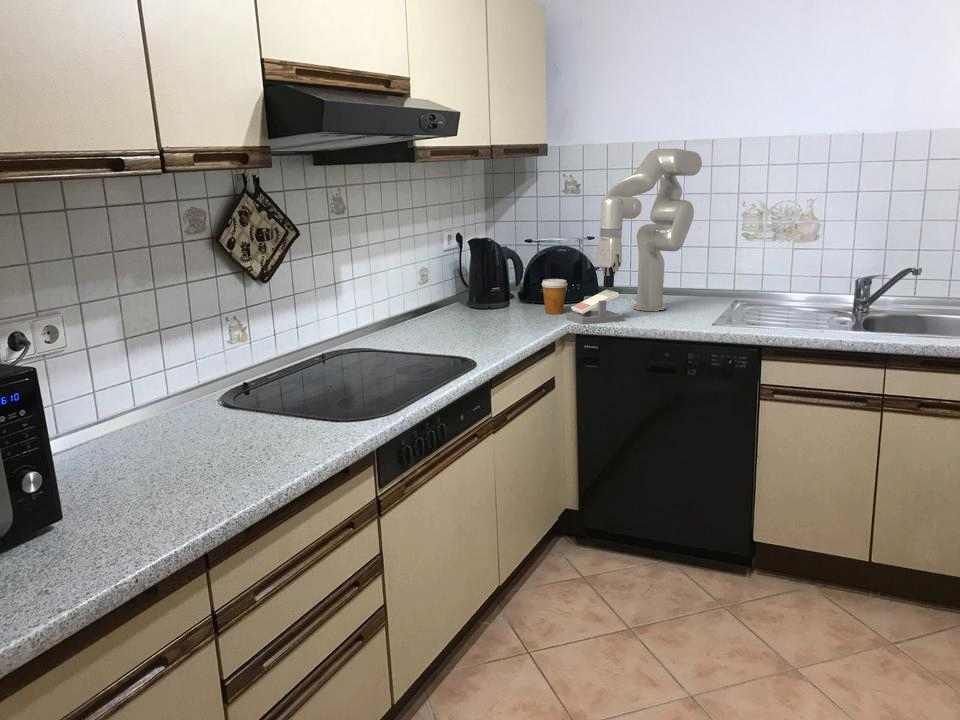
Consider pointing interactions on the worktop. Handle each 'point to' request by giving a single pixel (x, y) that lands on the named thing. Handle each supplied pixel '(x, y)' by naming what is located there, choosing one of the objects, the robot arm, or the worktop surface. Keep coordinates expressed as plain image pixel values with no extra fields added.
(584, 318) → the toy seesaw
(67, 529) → the worktop surface
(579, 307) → the breaker rocker
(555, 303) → the disposable coffee cup
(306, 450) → the worktop surface
